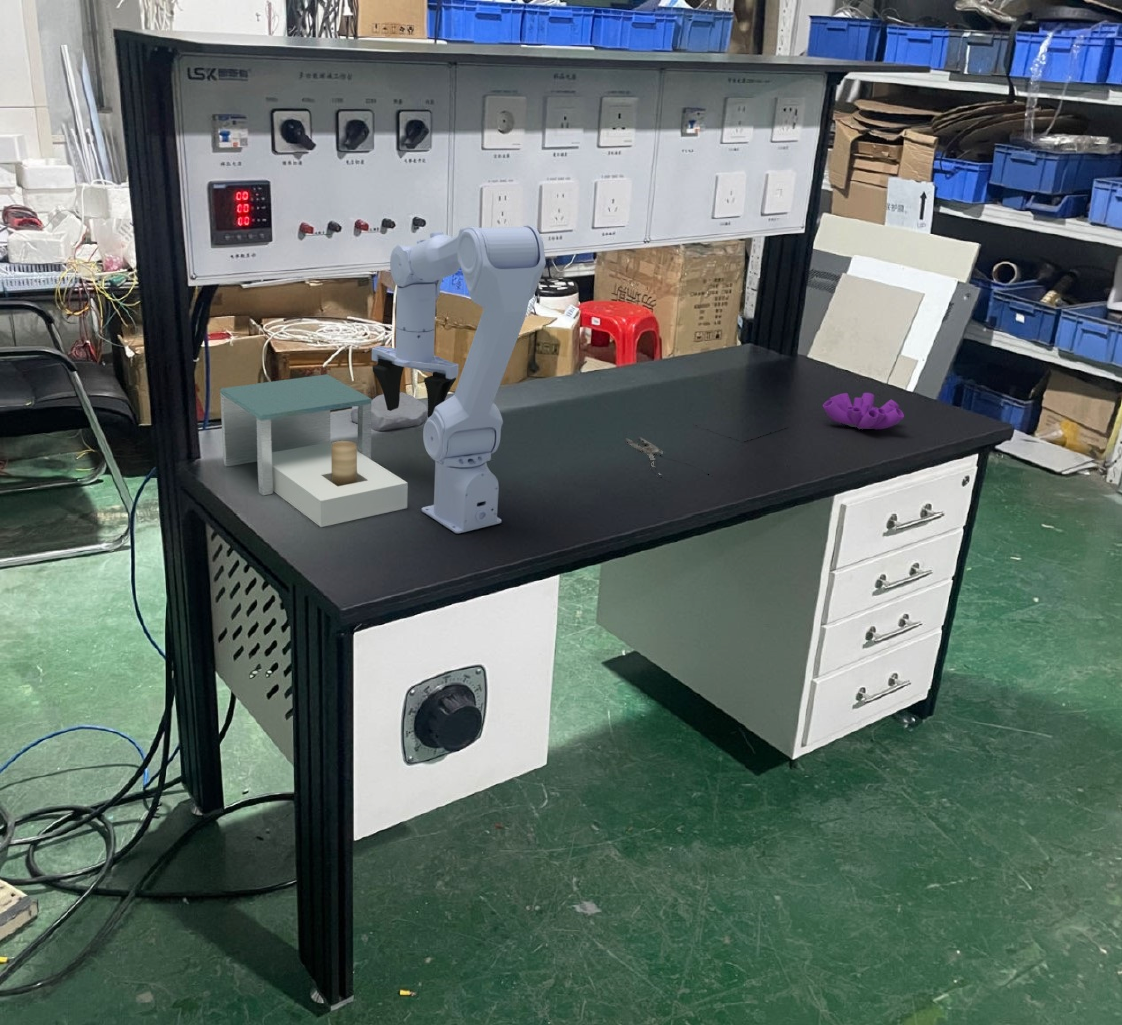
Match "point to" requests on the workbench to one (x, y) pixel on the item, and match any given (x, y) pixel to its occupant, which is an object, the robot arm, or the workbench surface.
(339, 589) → the workbench surface
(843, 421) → the purple tube coral
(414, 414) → the stone block
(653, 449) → the pliers
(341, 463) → the peg
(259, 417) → the teal topped shelf
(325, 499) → the socket block
